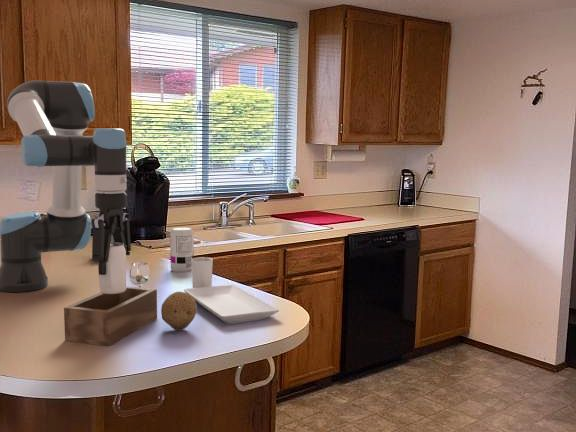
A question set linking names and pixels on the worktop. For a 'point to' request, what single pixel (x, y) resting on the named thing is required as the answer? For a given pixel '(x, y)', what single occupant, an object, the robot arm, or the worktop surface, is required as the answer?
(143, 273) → the wineglass
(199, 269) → the white cup
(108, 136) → the robot arm
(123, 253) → the can
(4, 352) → the worktop surface
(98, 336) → the narrow open box
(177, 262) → the supplement can
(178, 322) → the natural sponge
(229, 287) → the tray
